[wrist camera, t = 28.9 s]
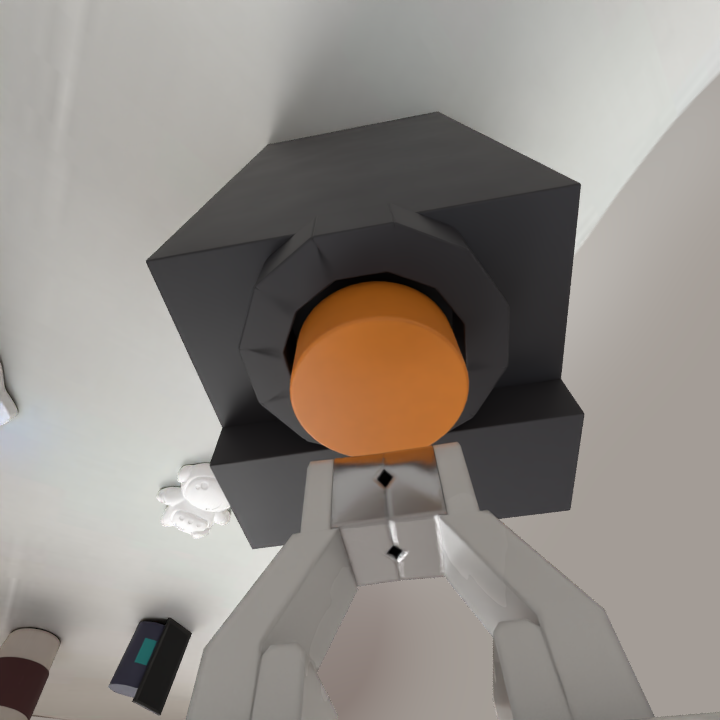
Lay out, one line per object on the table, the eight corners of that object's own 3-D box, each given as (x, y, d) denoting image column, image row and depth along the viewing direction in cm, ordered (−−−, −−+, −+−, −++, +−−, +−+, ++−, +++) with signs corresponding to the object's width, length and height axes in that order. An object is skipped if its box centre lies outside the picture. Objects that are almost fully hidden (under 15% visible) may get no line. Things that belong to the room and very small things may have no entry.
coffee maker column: (444, 213, 34) (583, 425, 14) (291, 240, 35) (214, 476, 15) (438, 104, 30) (620, 181, 10) (265, 138, 31) (108, 272, 11)
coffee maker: (456, 316, 39) (571, 582, 19) (317, 338, 40) (285, 613, 20) (446, 120, 30) (634, 224, 10) (269, 154, 31) (128, 310, 11)
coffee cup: (38, 616, 65) (-36, 747, 53) (84, 645, 70) (27, 771, 58) (-15, 630, 67) (-98, 759, 54) (34, 657, 72) (-32, 781, 60)
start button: (457, 400, 14) (472, 448, 12) (316, 420, 14) (312, 470, 12) (448, 266, 11) (466, 302, 9) (279, 294, 11) (266, 334, 10)
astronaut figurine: (143, 506, 52) (132, 528, 49) (196, 450, 47) (187, 472, 44) (208, 535, 55) (201, 558, 53) (264, 486, 50) (259, 508, 48)
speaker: (180, 616, 65) (148, 701, 57) (192, 633, 69) (163, 715, 61) (132, 614, 66) (93, 697, 58) (146, 630, 70) (111, 711, 61)
